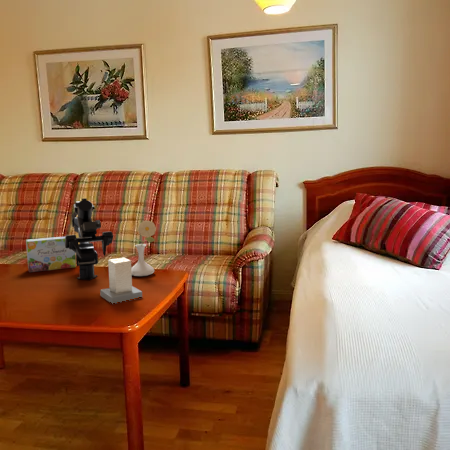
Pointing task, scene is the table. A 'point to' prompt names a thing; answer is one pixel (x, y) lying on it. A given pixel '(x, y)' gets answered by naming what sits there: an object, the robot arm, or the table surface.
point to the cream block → (120, 275)
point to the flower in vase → (141, 266)
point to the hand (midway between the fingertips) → (93, 256)
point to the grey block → (120, 295)
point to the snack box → (49, 254)
